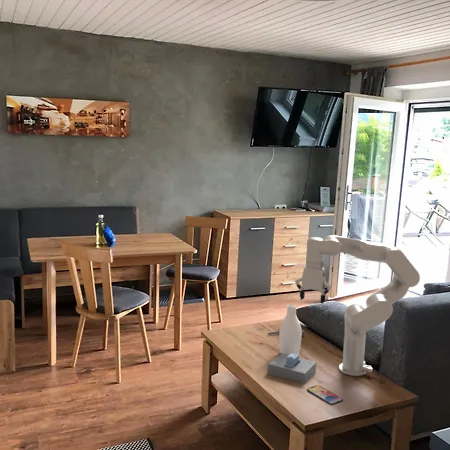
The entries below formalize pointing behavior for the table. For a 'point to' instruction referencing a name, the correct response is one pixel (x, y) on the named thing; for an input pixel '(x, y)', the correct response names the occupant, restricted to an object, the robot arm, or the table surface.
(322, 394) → the smartphone
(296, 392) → the table surface
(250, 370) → the table surface
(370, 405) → the table surface
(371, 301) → the robot arm
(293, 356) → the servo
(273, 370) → the plate
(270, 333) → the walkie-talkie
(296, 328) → the bottle
